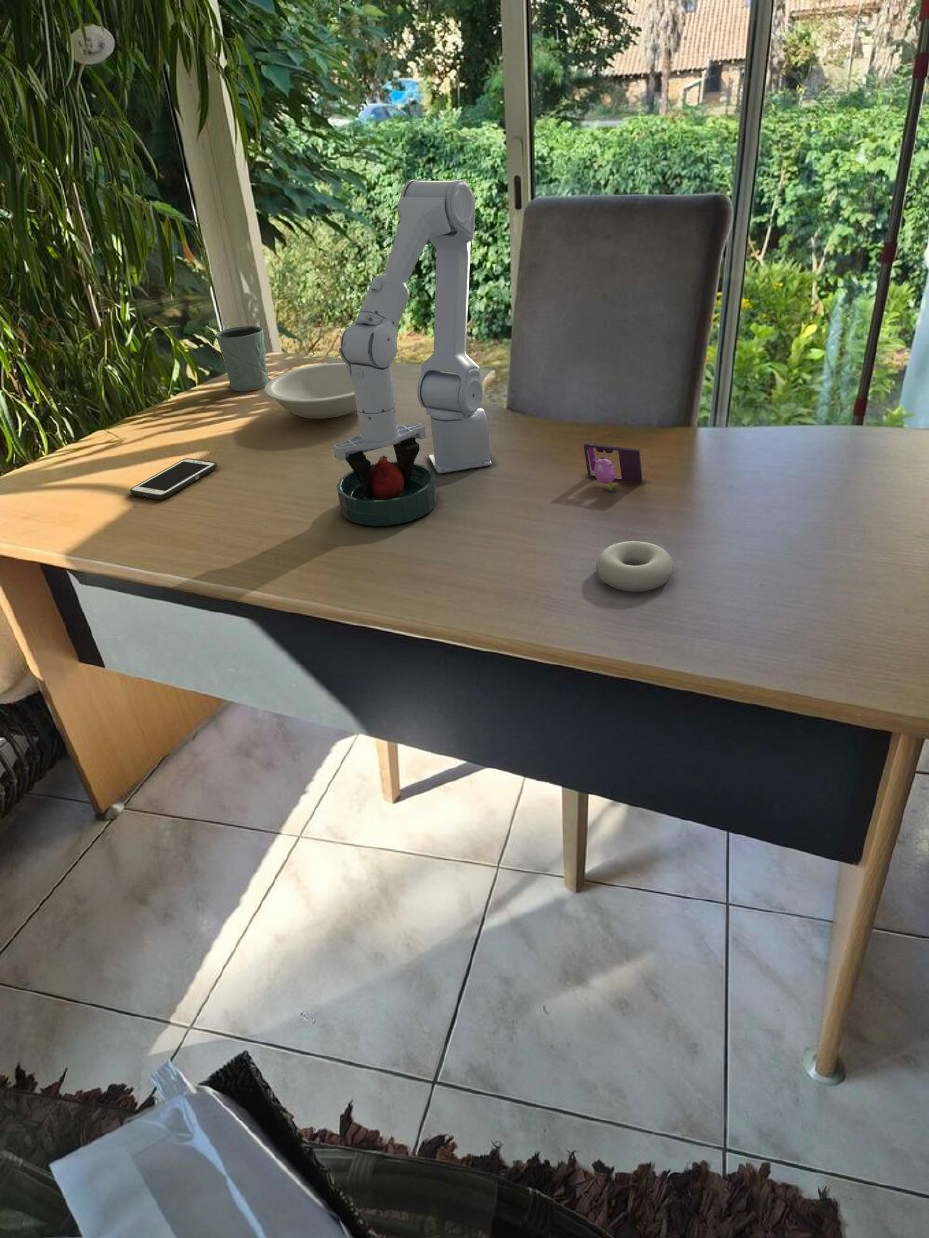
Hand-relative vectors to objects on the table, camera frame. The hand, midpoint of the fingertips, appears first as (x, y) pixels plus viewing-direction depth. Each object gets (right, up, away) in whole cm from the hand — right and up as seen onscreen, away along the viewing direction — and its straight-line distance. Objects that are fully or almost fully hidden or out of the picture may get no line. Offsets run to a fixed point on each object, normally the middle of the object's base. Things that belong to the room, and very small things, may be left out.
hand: (387, 491), depth 137 cm
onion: (0, -2, +1) cm, 2 cm away
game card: (+36, +1, +2) cm, 36 cm away
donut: (+34, -15, -22) cm, 43 cm away
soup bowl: (-15, +22, +41) cm, 49 cm away
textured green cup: (-36, +33, +61) cm, 78 cm away
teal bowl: (0, -2, +1) cm, 3 cm away
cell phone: (-39, +4, +17) cm, 42 cm away
